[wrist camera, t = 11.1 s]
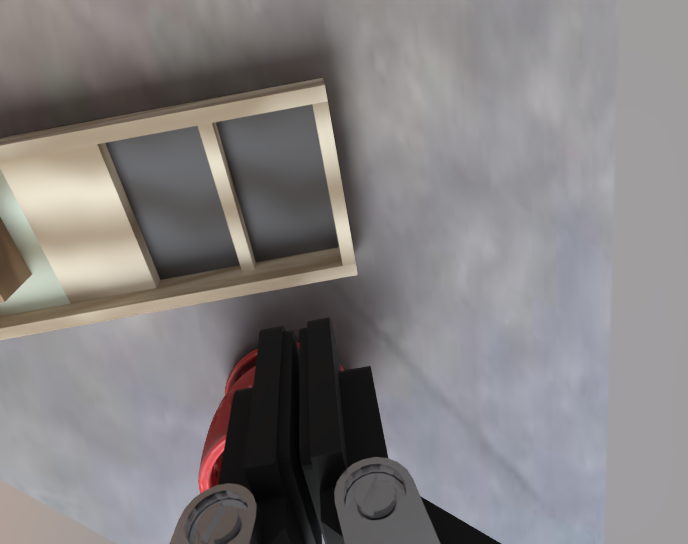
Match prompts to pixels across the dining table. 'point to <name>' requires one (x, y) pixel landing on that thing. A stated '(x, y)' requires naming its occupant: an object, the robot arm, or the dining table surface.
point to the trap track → (174, 208)
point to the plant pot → (225, 421)
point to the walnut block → (10, 265)
